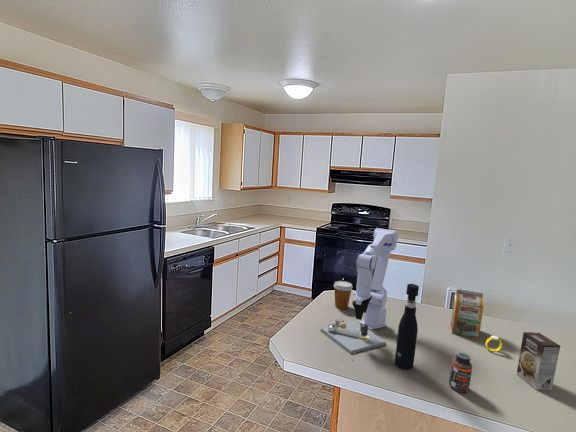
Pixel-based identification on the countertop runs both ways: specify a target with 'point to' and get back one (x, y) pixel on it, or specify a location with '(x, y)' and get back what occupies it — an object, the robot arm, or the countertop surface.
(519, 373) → the brown food box
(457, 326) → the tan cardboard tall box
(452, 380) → the supplement bottle
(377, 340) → the base
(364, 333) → the lever
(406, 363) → the black water bottle
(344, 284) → the disposable coffee cup
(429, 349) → the countertop surface
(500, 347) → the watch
